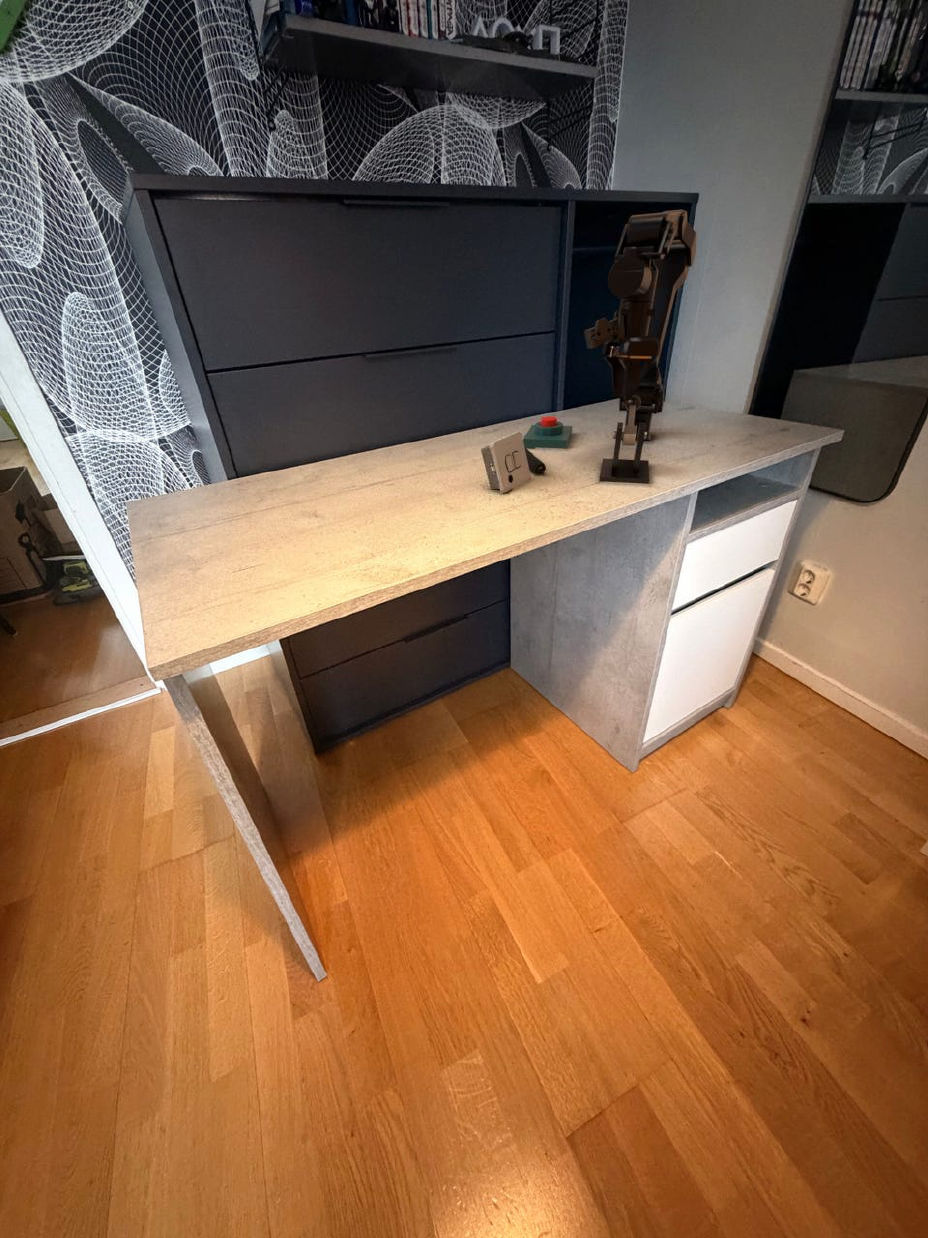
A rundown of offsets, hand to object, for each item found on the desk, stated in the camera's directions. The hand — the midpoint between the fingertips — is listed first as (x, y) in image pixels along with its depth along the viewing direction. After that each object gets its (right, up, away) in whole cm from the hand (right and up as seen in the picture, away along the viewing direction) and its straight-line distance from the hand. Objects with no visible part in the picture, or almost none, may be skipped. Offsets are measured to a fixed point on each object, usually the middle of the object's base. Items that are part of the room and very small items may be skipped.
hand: (621, 398), depth 95 cm
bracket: (+1, -14, +2) cm, 14 cm away
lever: (+2, -5, +2) cm, 6 cm away
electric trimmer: (-17, -10, +9) cm, 22 cm away
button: (-11, +2, +20) cm, 23 cm away
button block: (-10, -1, +22) cm, 24 cm away
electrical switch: (-22, -17, +1) cm, 28 cm away
